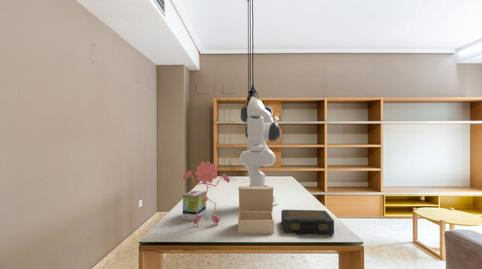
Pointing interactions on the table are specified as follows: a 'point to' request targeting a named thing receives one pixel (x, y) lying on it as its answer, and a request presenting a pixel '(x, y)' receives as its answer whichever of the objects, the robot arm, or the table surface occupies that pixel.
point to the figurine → (206, 175)
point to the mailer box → (255, 222)
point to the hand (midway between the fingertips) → (255, 174)
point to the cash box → (307, 222)
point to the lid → (255, 199)
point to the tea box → (193, 204)
